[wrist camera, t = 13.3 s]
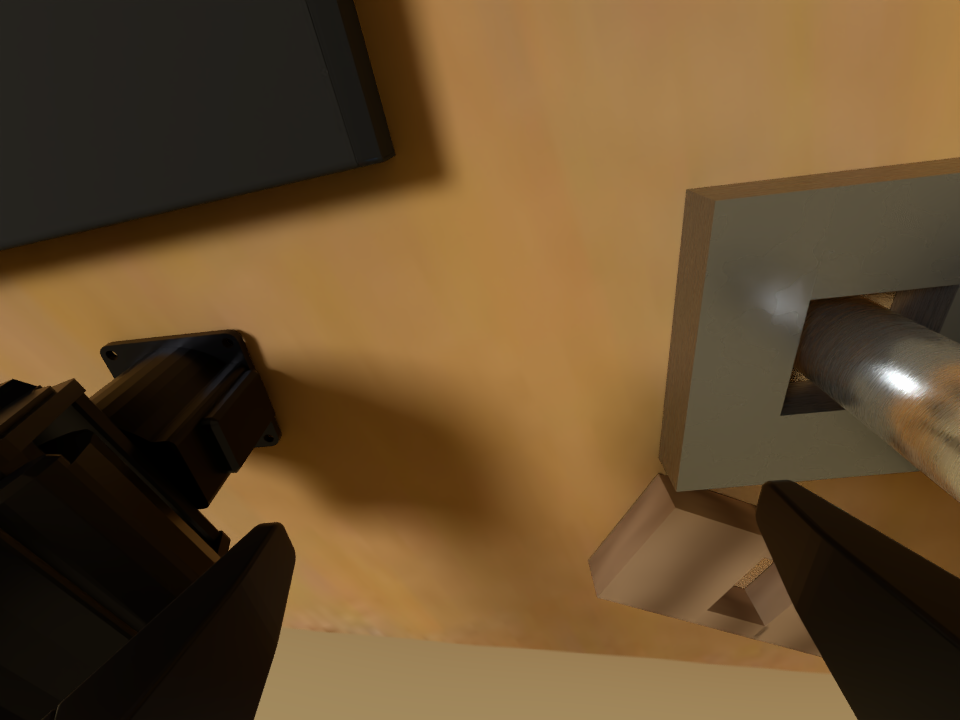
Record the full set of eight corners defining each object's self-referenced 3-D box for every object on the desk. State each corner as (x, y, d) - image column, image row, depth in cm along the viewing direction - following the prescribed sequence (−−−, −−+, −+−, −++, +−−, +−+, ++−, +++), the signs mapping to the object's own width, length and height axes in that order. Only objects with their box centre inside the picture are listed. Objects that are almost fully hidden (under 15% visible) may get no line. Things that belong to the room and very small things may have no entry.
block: (658, 458, 25) (676, 491, 23) (686, 189, 18) (715, 201, 16) (925, 434, 24) (969, 466, 22) (1058, 146, 17) (1141, 151, 15)
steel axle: (791, 380, 22) (1113, 660, 11) (765, 320, 21) (1110, 575, 10) (876, 338, 21) (1331, 601, 10) (855, 271, 20) (1369, 494, 8)
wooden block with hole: (587, 560, 29) (597, 597, 27) (658, 473, 25) (675, 507, 23) (809, 622, 32) (832, 659, 30) (898, 553, 29) (932, 590, 27)
